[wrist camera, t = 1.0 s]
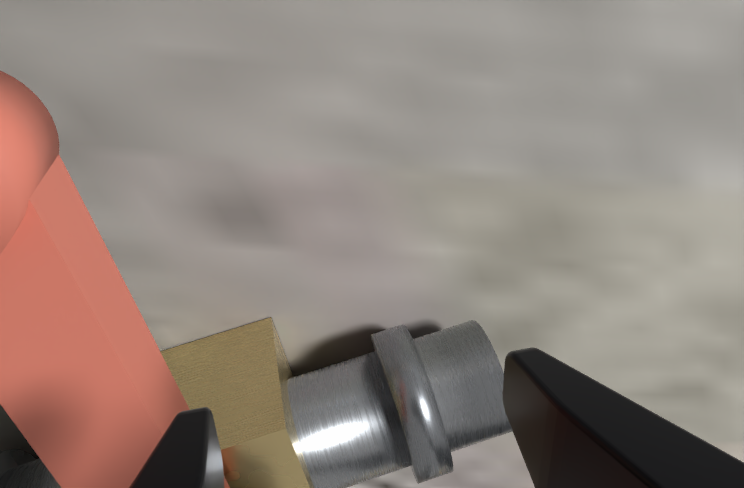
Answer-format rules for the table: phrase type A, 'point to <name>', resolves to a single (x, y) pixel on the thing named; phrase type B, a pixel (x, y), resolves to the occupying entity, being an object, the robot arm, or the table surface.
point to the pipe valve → (330, 407)
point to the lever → (70, 319)
